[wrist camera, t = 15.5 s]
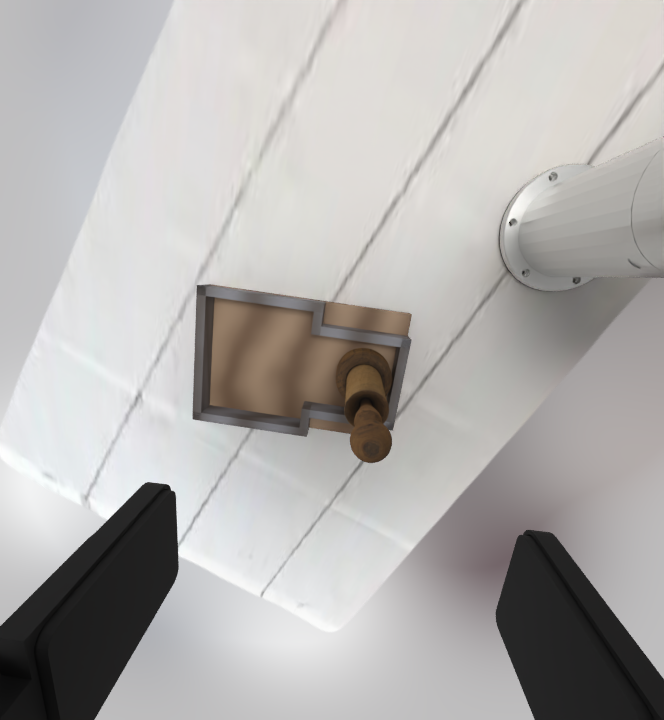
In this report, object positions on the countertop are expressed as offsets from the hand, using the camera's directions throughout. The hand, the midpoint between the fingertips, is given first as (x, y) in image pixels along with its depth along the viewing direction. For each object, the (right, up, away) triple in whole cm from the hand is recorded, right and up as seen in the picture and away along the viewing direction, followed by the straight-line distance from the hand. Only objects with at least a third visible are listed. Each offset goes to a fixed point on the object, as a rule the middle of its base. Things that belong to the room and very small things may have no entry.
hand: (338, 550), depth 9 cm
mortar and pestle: (+4, +4, +31) cm, 31 cm away
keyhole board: (-4, +5, +32) cm, 33 cm away
